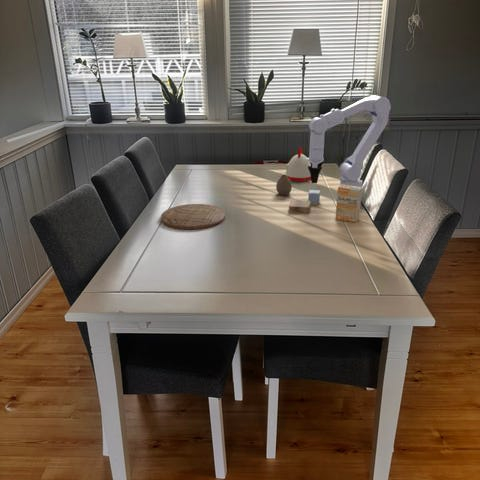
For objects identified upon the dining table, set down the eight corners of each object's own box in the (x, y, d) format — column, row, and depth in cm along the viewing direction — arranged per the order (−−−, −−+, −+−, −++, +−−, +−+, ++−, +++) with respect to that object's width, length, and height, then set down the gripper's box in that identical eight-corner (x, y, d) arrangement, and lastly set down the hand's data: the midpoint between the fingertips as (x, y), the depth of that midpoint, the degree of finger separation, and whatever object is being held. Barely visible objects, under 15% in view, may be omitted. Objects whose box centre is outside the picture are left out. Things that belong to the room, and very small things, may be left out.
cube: (319, 200, 194) (320, 190, 192) (318, 203, 190) (319, 193, 188) (309, 199, 195) (309, 189, 193) (308, 203, 191) (308, 193, 189)
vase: (291, 192, 205) (292, 173, 202) (291, 196, 199) (292, 177, 195) (276, 191, 206) (276, 173, 202) (275, 196, 200) (276, 177, 196)
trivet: (216, 233, 163) (216, 228, 162) (151, 228, 168) (150, 224, 167) (231, 209, 186) (231, 205, 185) (173, 206, 190) (173, 202, 190)
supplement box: (334, 219, 172) (337, 187, 167) (338, 215, 176) (340, 183, 171) (356, 223, 169) (359, 189, 163) (359, 219, 173) (362, 186, 167)
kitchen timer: (282, 180, 223) (283, 150, 217) (288, 172, 235) (289, 144, 229) (310, 182, 220) (312, 151, 213) (314, 174, 232) (316, 145, 226)
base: (310, 207, 186) (310, 200, 185) (308, 214, 179) (309, 207, 178) (290, 206, 188) (291, 199, 187) (288, 213, 181) (288, 206, 180)
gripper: (308, 144, 190) (306, 175, 196) (305, 151, 177) (303, 184, 183) (325, 144, 189) (323, 176, 194) (323, 152, 176) (321, 185, 181)
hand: (314, 180), depth 189 cm, fingers open, 7 cm apart
